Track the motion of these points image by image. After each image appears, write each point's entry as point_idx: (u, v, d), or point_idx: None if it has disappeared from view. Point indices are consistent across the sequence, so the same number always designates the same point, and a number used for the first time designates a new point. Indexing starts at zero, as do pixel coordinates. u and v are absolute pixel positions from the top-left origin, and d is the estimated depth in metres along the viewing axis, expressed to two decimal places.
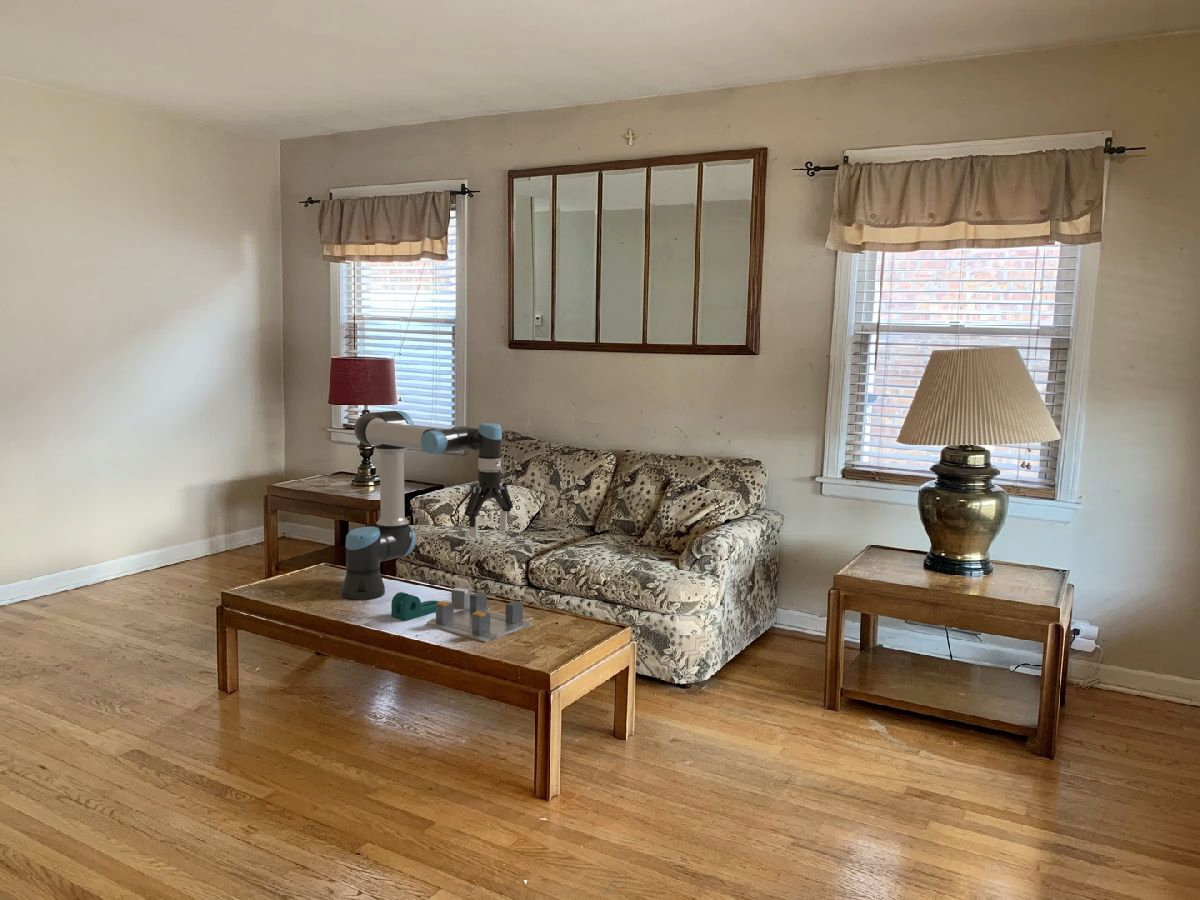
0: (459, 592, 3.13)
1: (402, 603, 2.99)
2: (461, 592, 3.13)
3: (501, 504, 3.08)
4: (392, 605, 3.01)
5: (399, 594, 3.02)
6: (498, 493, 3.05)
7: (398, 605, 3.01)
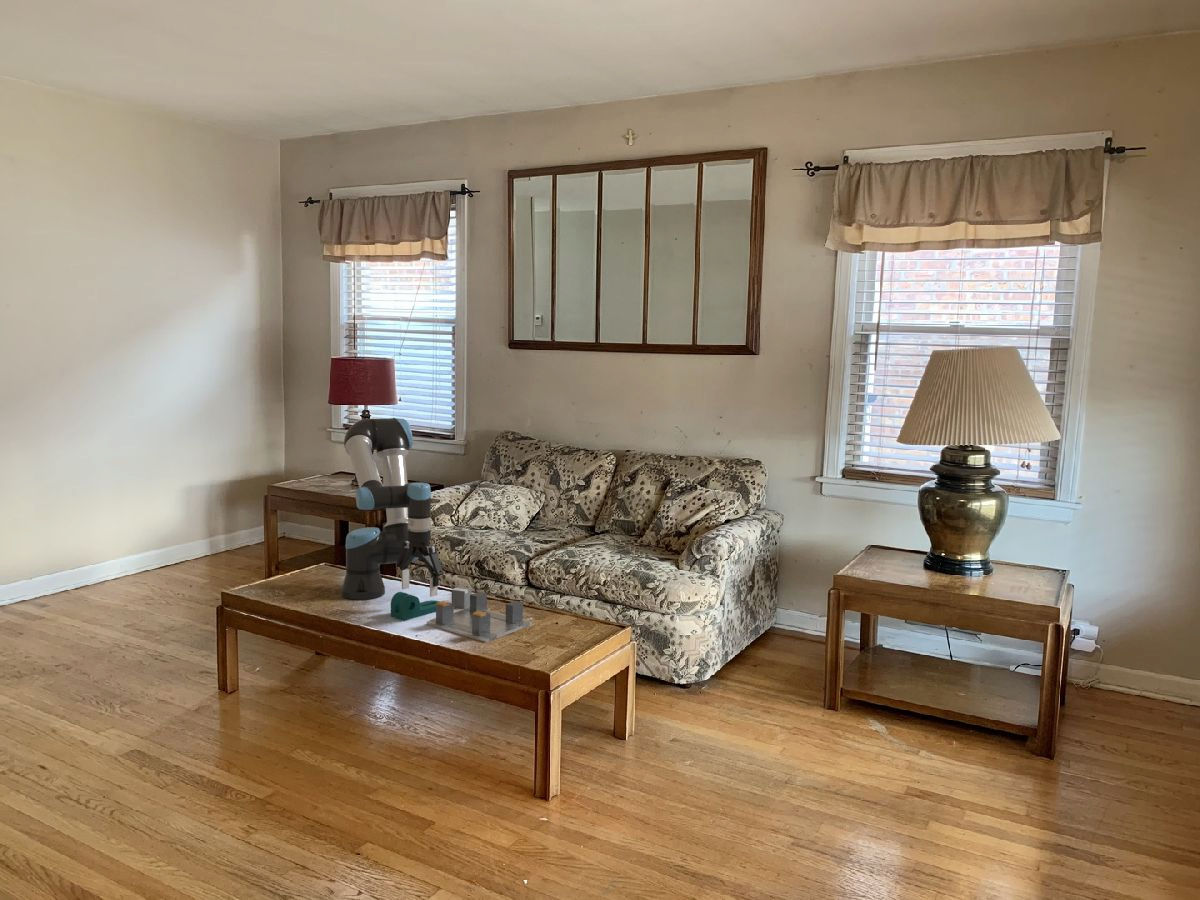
0: (459, 592, 3.13)
1: (401, 603, 2.99)
2: (461, 592, 3.13)
3: None
4: (391, 605, 3.02)
5: (398, 594, 3.03)
6: (420, 555, 3.02)
7: (397, 605, 3.01)
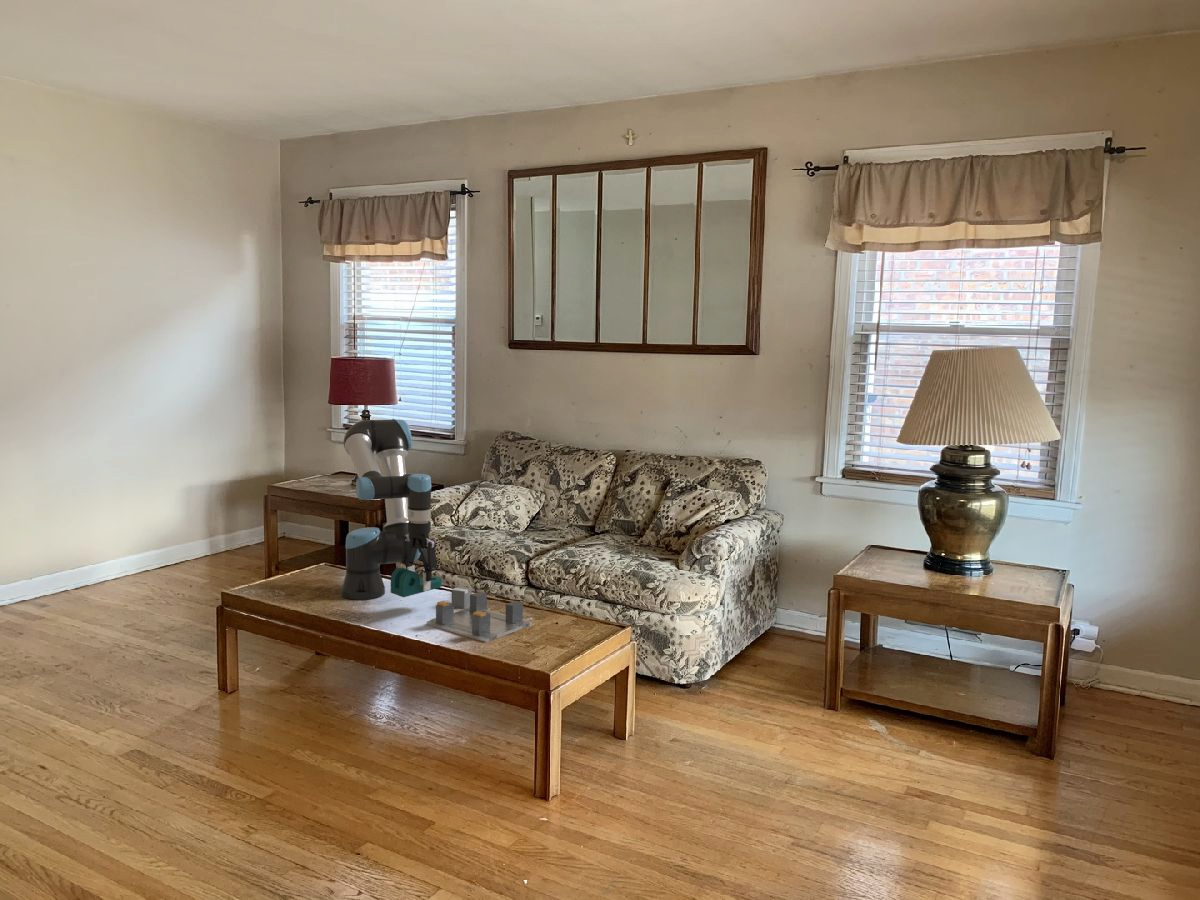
0: (459, 592, 3.13)
1: (401, 578, 2.98)
2: (461, 592, 3.13)
3: None
4: (391, 580, 3.01)
5: (398, 569, 3.02)
6: (419, 547, 3.02)
7: (397, 580, 3.01)
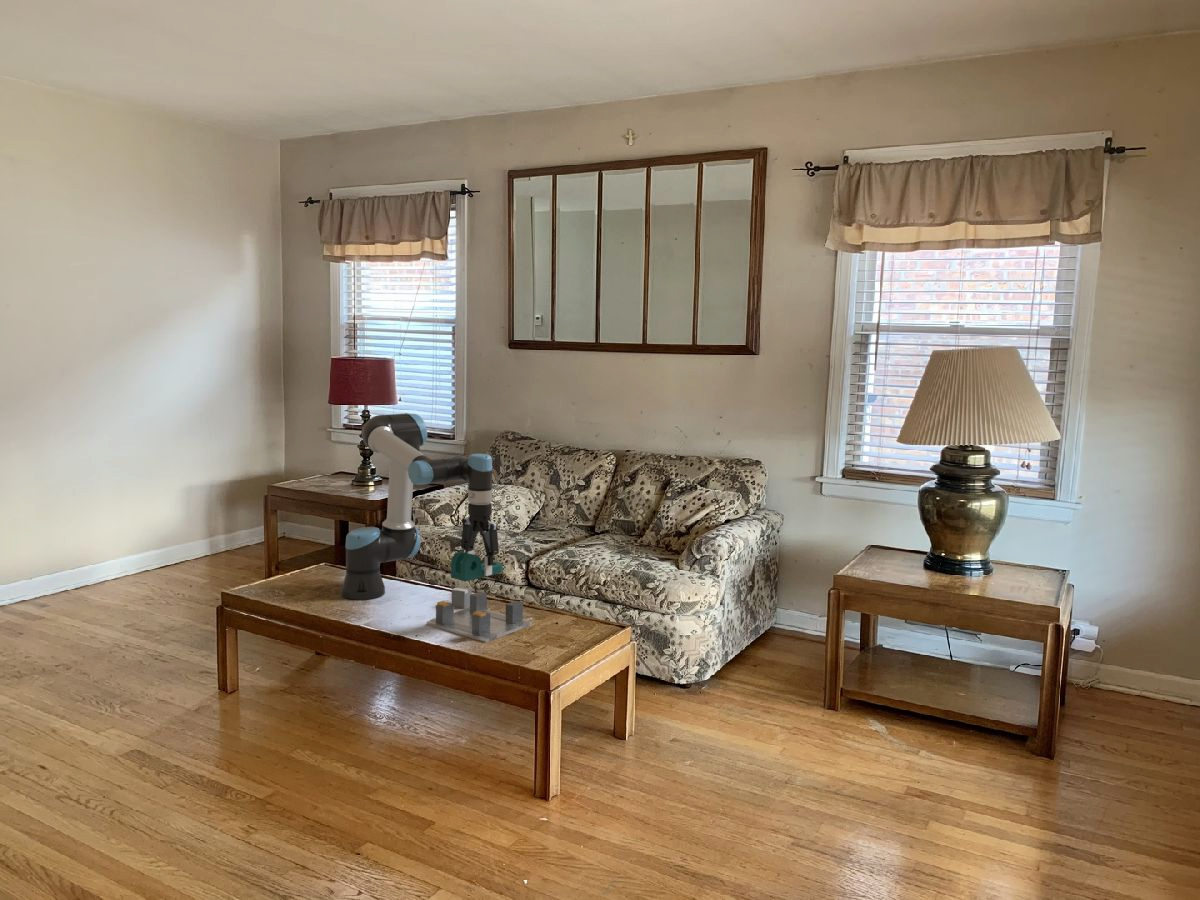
0: (459, 592, 3.13)
1: (462, 562, 2.86)
2: (461, 592, 3.13)
3: None
4: (452, 564, 2.89)
5: (459, 553, 2.89)
6: (480, 529, 2.90)
7: (458, 564, 2.88)
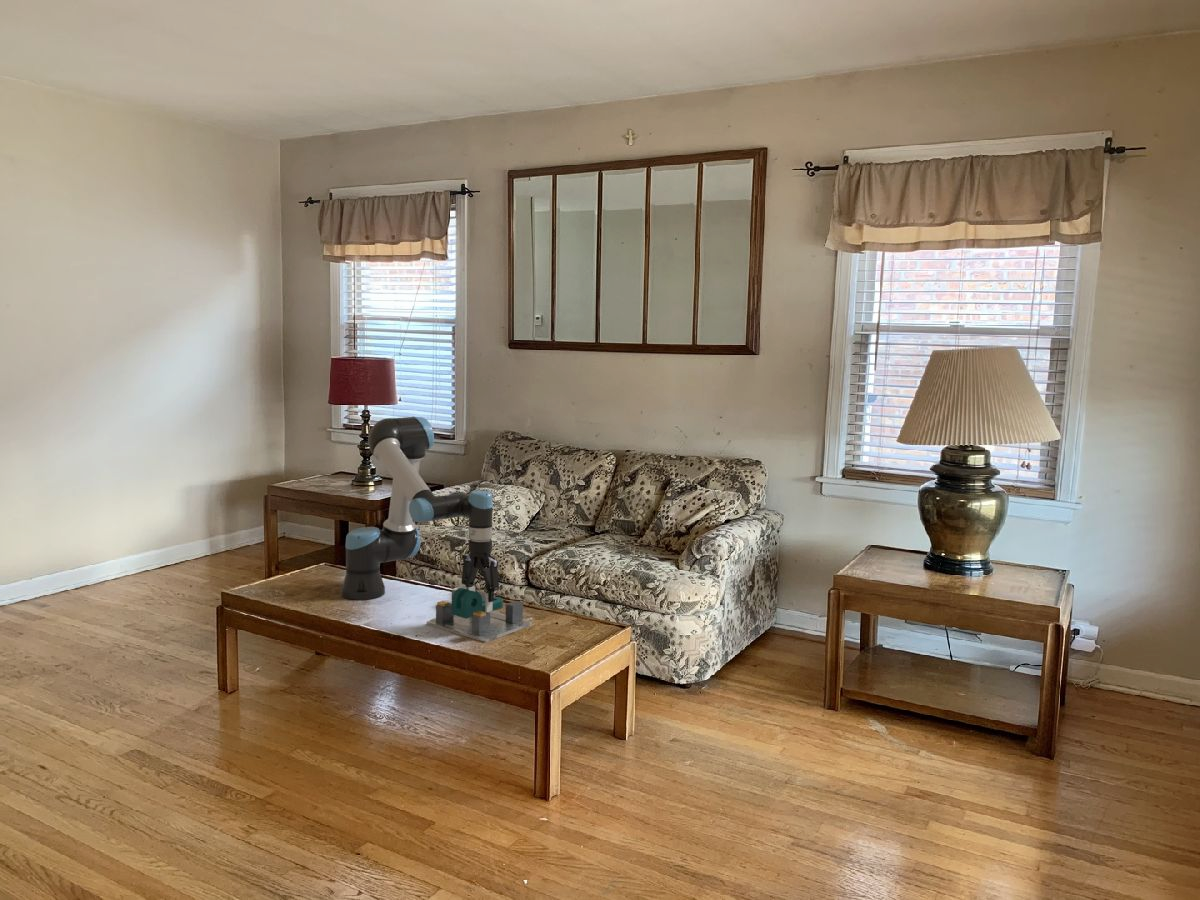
0: None
1: (463, 599, 2.87)
2: None
3: None
4: (452, 601, 2.90)
5: (459, 590, 2.91)
6: (481, 566, 2.91)
7: (459, 601, 2.90)
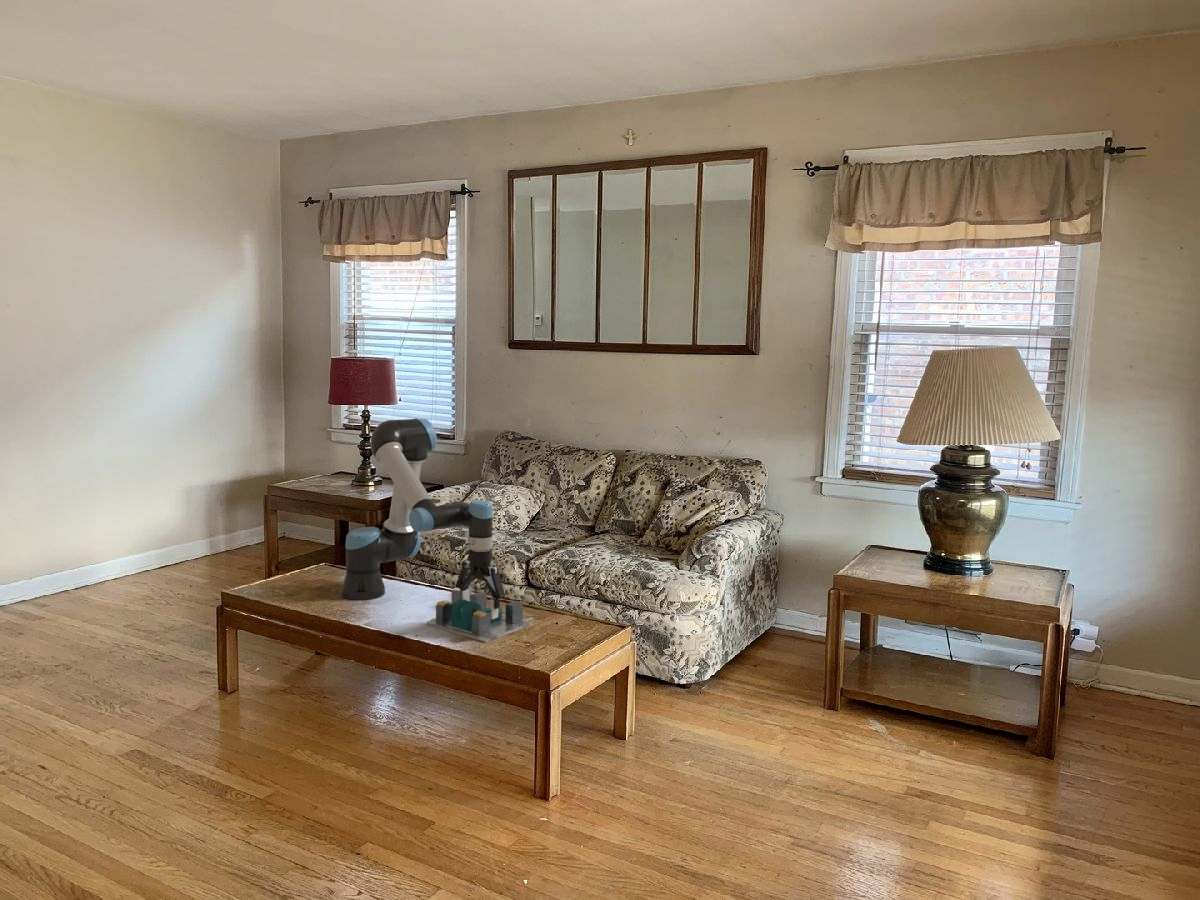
0: (459, 592, 3.13)
1: (463, 610, 2.88)
2: None
3: None
4: (452, 612, 2.91)
5: (459, 601, 2.91)
6: (482, 575, 2.91)
7: (458, 612, 2.90)
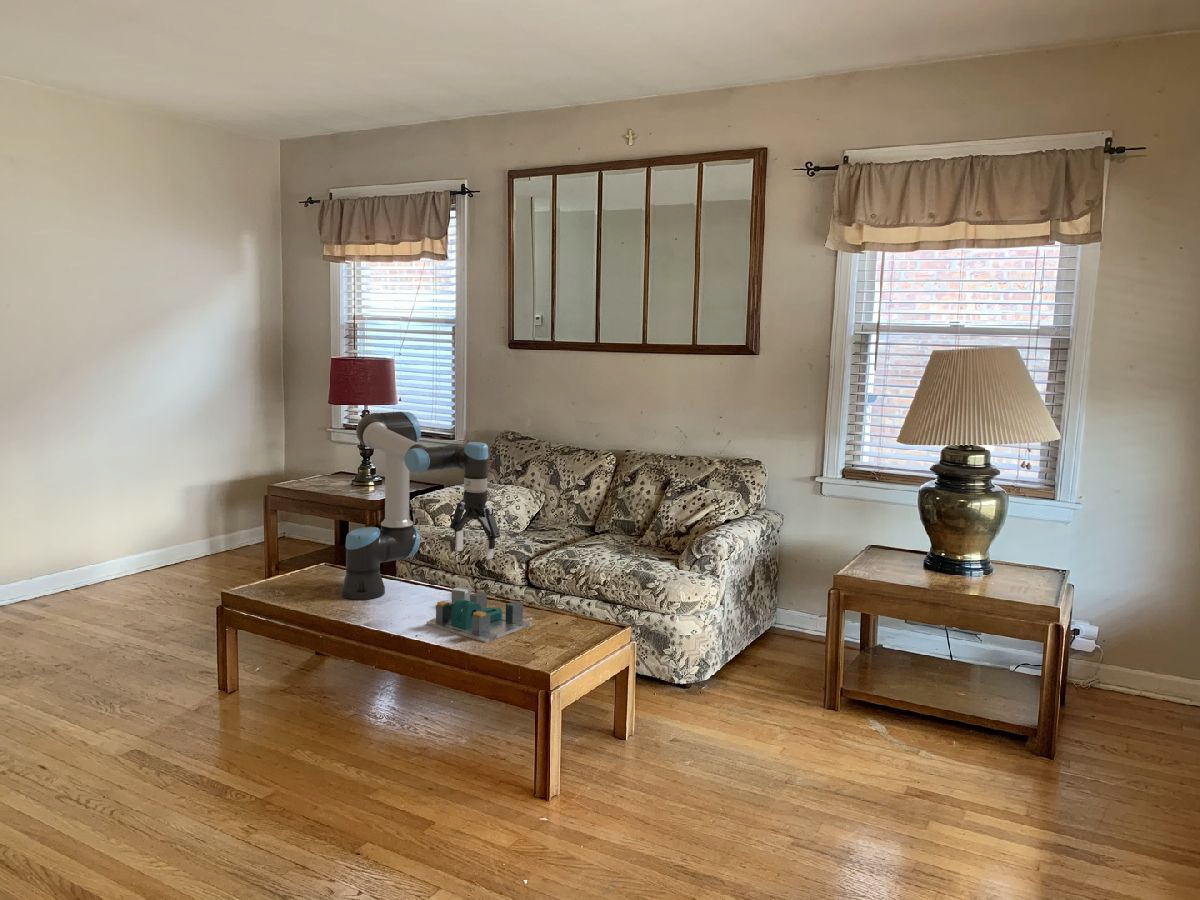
0: (459, 592, 3.13)
1: (463, 610, 2.88)
2: (461, 592, 3.13)
3: None
4: (452, 612, 2.91)
5: (459, 601, 2.91)
6: (477, 516, 2.93)
7: (458, 612, 2.90)
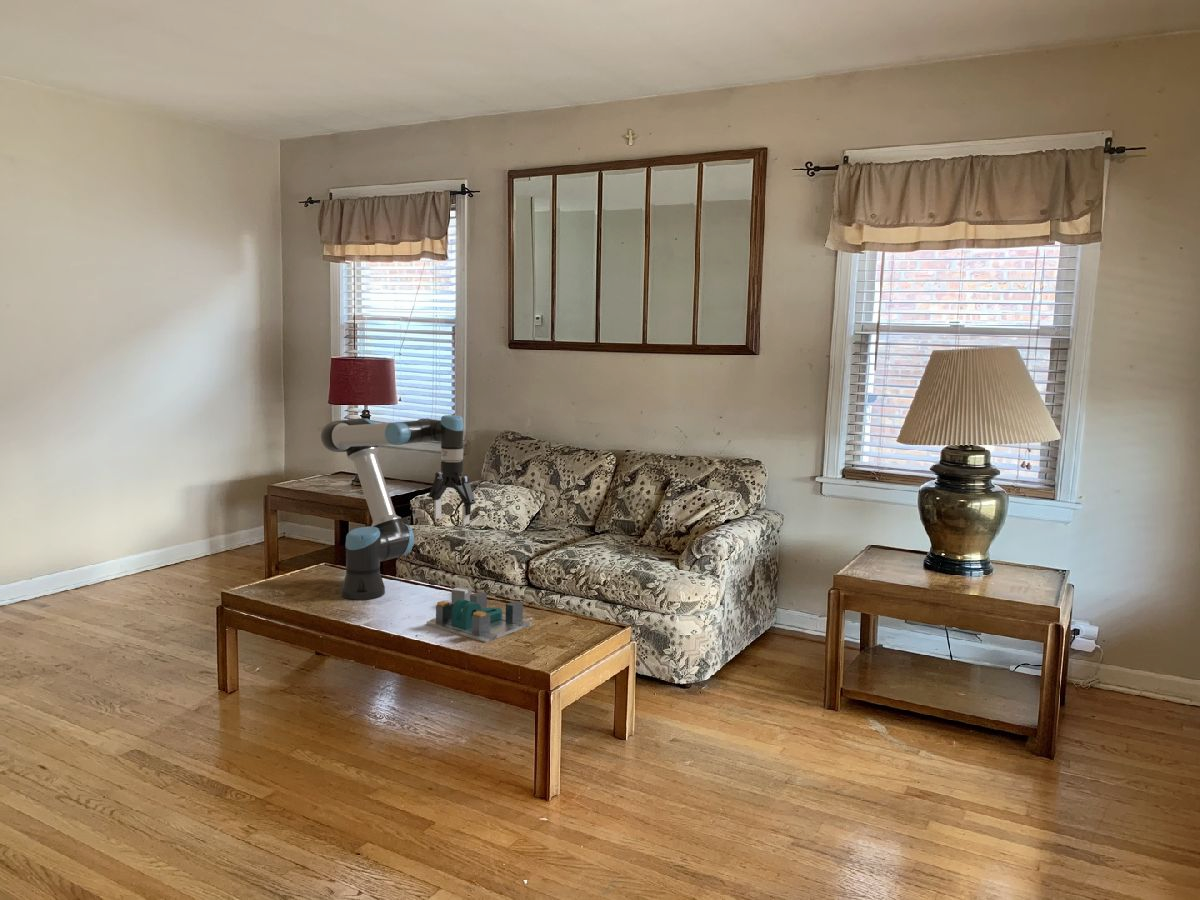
0: (459, 592, 3.13)
1: (463, 610, 2.88)
2: (461, 592, 3.13)
3: None
4: (452, 612, 2.91)
5: (459, 601, 2.91)
6: (453, 484, 3.12)
7: (458, 612, 2.90)
